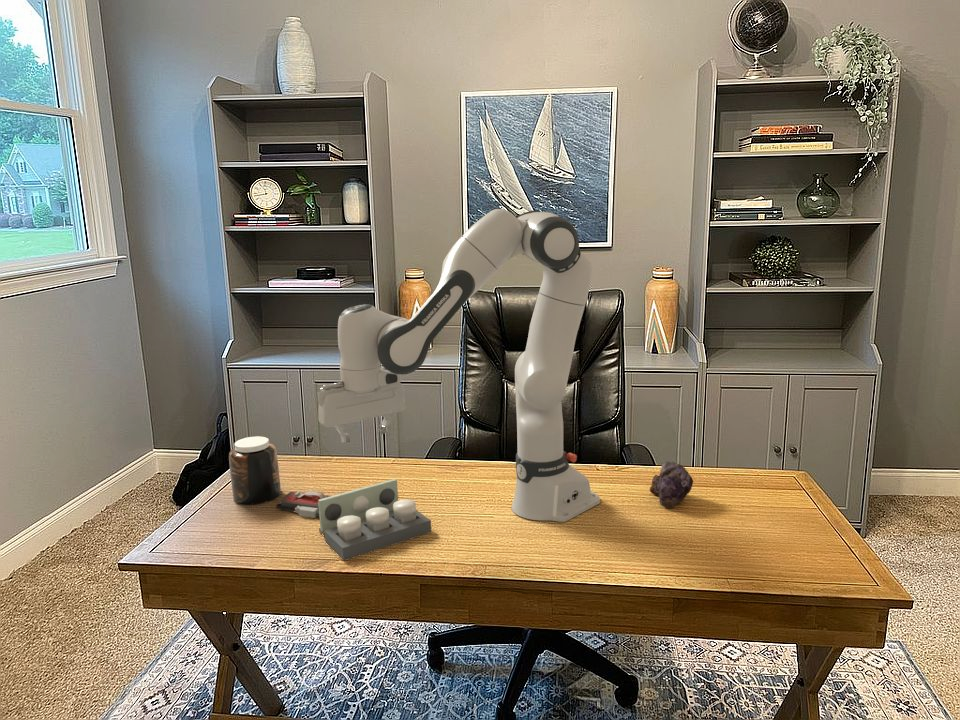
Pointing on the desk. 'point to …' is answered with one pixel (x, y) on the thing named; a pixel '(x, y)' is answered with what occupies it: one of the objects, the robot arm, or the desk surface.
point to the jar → (254, 471)
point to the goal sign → (356, 503)
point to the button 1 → (349, 527)
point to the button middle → (377, 519)
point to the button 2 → (404, 510)
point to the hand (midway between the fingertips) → (364, 437)
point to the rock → (671, 484)
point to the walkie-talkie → (302, 503)
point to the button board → (377, 536)
